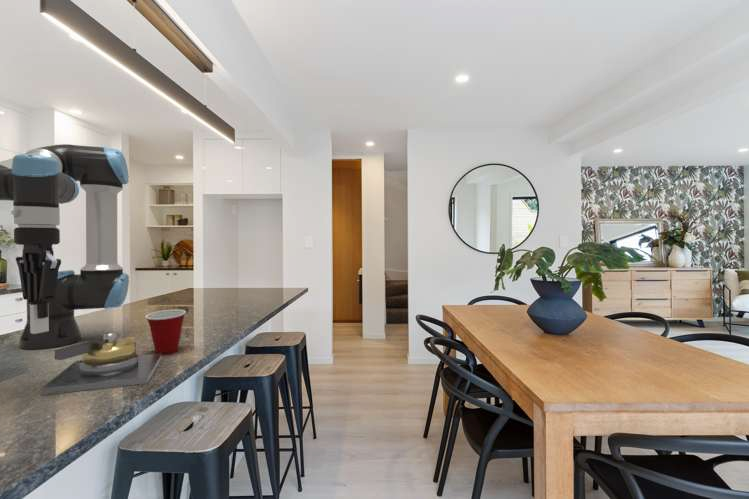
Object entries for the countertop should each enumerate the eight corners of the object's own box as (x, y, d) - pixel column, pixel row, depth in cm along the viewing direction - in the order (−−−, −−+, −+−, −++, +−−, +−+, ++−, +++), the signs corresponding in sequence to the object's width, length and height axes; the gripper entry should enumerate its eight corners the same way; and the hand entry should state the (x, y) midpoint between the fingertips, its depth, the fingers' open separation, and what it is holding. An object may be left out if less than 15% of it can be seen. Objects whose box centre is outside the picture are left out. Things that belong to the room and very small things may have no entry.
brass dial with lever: (113, 349, 100) (113, 327, 100) (146, 353, 97) (146, 330, 97) (39, 370, 83) (39, 344, 83) (76, 375, 80) (76, 348, 80)
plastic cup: (136, 354, 110) (136, 314, 109) (167, 345, 120) (167, 308, 120) (163, 359, 106) (163, 317, 106) (193, 349, 116) (194, 310, 116)
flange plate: (76, 366, 99) (76, 351, 99) (162, 358, 106) (162, 344, 106) (41, 395, 80) (41, 376, 80) (147, 383, 88) (147, 366, 88)
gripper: (-1, 225, 81) (2, 332, 83) (32, 226, 76) (35, 340, 77) (41, 226, 88) (43, 324, 89) (74, 227, 83) (76, 331, 84)
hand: (39, 331), depth 83 cm, fingers closed
